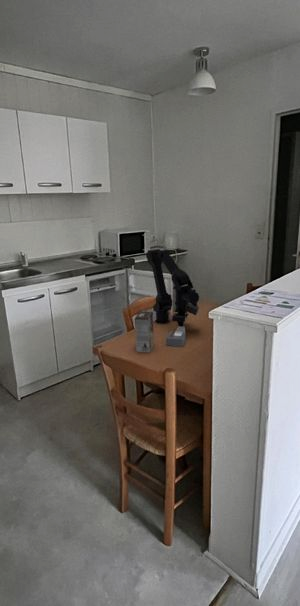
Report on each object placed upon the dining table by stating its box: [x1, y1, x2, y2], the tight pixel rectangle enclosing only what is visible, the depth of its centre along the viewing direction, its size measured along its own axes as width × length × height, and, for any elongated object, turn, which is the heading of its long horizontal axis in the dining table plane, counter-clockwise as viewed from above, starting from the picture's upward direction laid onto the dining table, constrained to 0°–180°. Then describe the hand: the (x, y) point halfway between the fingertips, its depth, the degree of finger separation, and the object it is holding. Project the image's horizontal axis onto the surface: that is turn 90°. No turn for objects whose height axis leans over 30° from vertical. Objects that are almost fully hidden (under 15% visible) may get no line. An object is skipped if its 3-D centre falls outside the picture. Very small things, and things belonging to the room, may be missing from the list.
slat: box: [173, 325, 186, 338], centre depth 173 cm, size 4×12×3 cm, turn 166°
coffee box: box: [134, 311, 155, 353], centre depth 159 cm, size 9×6×16 cm
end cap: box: [165, 330, 187, 348], centre depth 166 cm, size 8×8×4 cm
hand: (181, 328), depth 180 cm, fingers closed
